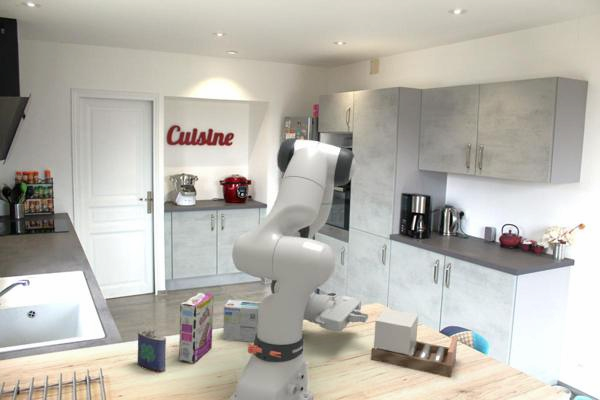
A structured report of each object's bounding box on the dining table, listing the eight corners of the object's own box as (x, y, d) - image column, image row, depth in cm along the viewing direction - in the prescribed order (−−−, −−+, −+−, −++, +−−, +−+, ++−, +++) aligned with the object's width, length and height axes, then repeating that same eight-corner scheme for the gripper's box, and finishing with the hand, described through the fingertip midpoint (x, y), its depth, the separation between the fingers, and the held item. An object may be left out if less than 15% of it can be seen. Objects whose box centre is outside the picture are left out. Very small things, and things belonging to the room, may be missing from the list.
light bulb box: (261, 334, 158) (262, 301, 156) (257, 342, 151) (258, 308, 150) (227, 331, 159) (228, 298, 157) (222, 340, 152) (223, 305, 151)
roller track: (370, 359, 143) (372, 336, 142) (381, 344, 154) (382, 322, 153) (450, 377, 134) (452, 352, 133) (455, 359, 145) (457, 336, 144)
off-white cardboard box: (373, 347, 143) (375, 320, 142) (383, 333, 153) (385, 308, 152) (408, 354, 139) (410, 327, 138) (416, 340, 149) (418, 314, 148)
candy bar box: (194, 364, 135) (195, 306, 133) (178, 361, 137) (178, 303, 135) (213, 348, 146) (214, 293, 144) (197, 345, 147) (198, 291, 145)
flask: (167, 369, 132) (167, 331, 130) (159, 374, 129) (159, 334, 128) (142, 361, 136) (142, 323, 135) (134, 365, 134) (133, 326, 132)
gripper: (311, 311, 144) (357, 320, 139) (335, 290, 163) (376, 297, 157) (310, 331, 145) (355, 341, 140) (334, 309, 164) (375, 317, 158)
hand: (366, 318), depth 149 cm, fingers closed
